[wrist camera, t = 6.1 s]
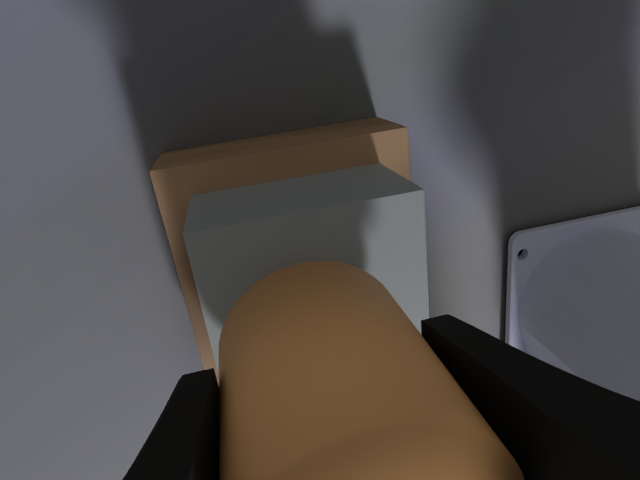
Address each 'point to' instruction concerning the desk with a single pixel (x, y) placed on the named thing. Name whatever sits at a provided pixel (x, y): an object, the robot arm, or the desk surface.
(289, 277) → the orange capsule
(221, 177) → the brown square box
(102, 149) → the desk surface
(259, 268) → the slate block
